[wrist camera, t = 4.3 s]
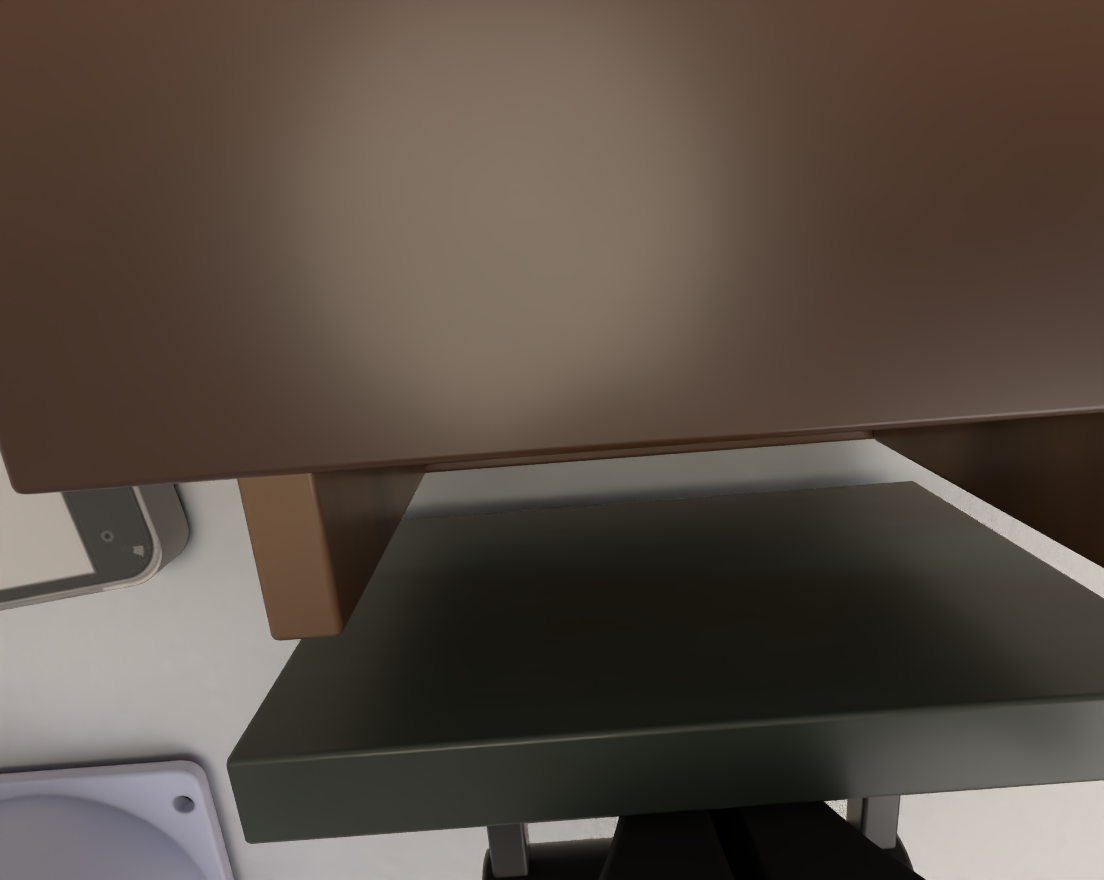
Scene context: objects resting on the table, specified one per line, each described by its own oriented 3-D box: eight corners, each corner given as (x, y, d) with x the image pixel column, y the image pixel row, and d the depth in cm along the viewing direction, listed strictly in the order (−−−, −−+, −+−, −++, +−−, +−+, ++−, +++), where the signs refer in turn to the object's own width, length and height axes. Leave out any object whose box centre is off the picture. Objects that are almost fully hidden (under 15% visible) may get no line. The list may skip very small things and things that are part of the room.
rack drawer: (892, 727, 15) (1150, 1073, 9) (411, 763, 16) (318, 1135, 9) (974, -253, 10) (1714, -1113, 4) (256, -196, 10) (-222, -951, 4)
